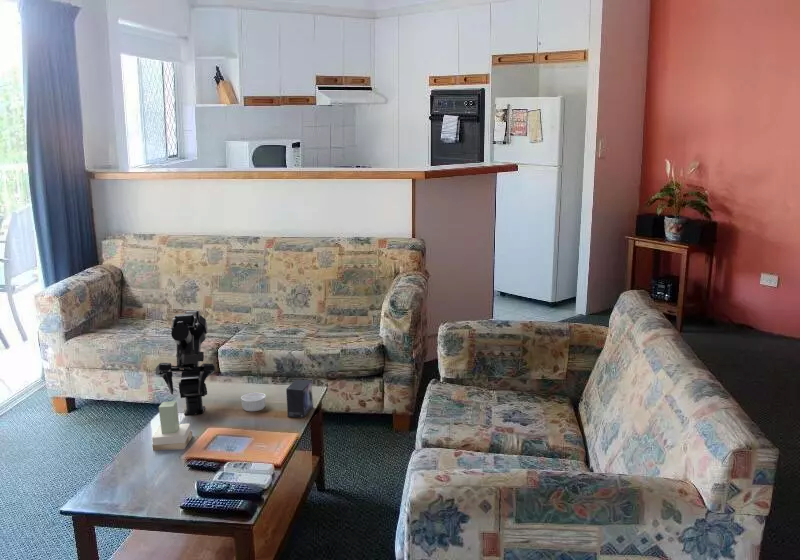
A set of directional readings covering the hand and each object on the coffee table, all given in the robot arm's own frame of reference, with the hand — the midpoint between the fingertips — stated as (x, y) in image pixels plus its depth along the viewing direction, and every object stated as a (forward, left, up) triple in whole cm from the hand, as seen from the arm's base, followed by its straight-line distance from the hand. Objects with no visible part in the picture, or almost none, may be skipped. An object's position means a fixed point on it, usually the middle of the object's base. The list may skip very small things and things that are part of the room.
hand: (186, 394), depth 251 cm
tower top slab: (+10, -4, -11) cm, 15 cm away
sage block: (+10, -4, -8) cm, 14 cm away
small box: (-9, +37, -13) cm, 41 cm away
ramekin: (-17, +20, -13) cm, 30 cm away
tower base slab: (+10, -4, -13) cm, 17 cm away
